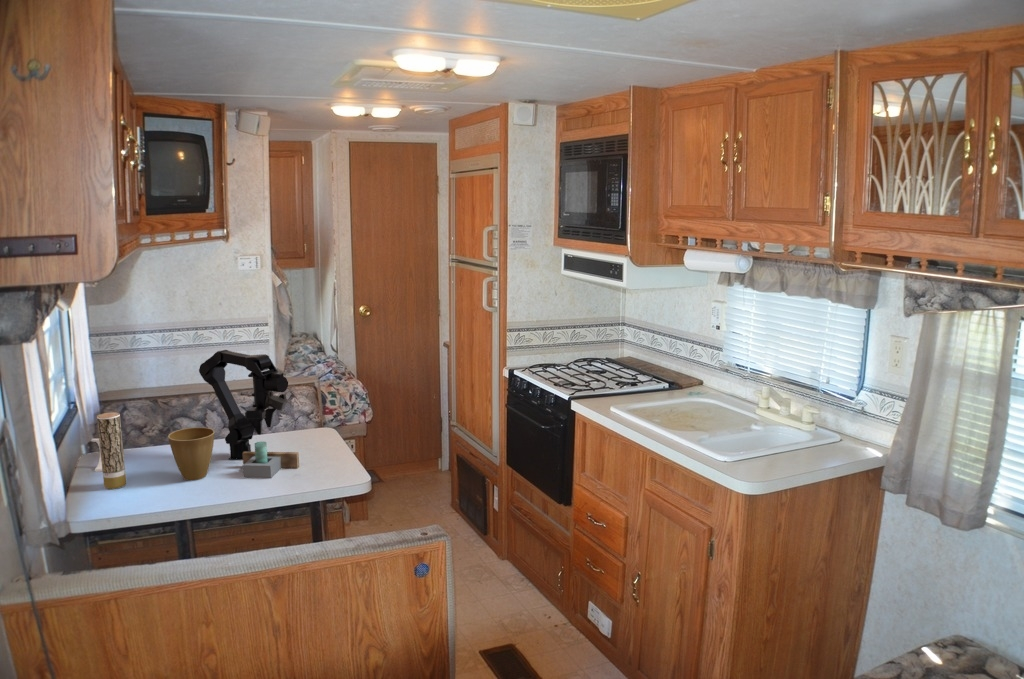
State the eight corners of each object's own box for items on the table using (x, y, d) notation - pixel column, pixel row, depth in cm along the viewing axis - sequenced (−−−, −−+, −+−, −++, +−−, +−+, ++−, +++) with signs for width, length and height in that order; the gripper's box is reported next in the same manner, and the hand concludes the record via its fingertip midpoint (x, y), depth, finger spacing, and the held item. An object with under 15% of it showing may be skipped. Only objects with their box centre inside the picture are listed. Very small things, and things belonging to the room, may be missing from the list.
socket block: (243, 477, 270) (242, 465, 270) (254, 467, 280) (253, 456, 279) (271, 478, 270) (270, 465, 269) (281, 468, 280) (280, 456, 279)
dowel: (254, 474, 273) (252, 444, 271) (259, 470, 277) (257, 441, 275) (265, 475, 273) (263, 445, 271) (270, 471, 277) (268, 441, 275)
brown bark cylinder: (111, 491, 258) (104, 418, 254) (100, 487, 262) (92, 416, 257) (130, 485, 264) (124, 414, 260) (119, 481, 267) (112, 411, 263)
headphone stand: (94, 471, 277) (91, 439, 275) (102, 466, 283) (99, 434, 281) (107, 471, 278) (104, 439, 276) (115, 465, 284) (112, 434, 281)
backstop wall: (243, 467, 281) (242, 453, 280) (245, 465, 282) (244, 451, 282) (297, 468, 279) (296, 454, 278) (299, 466, 281) (298, 452, 280)
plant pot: (163, 478, 270) (160, 434, 267) (204, 467, 281) (200, 424, 279) (185, 488, 261) (181, 442, 258) (225, 476, 272) (222, 432, 269)
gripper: (273, 396, 272) (276, 438, 275) (292, 383, 290) (294, 424, 293) (243, 395, 273) (245, 438, 275) (263, 383, 291) (265, 423, 294)
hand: (264, 430), depth 284 cm, fingers open, 9 cm apart
